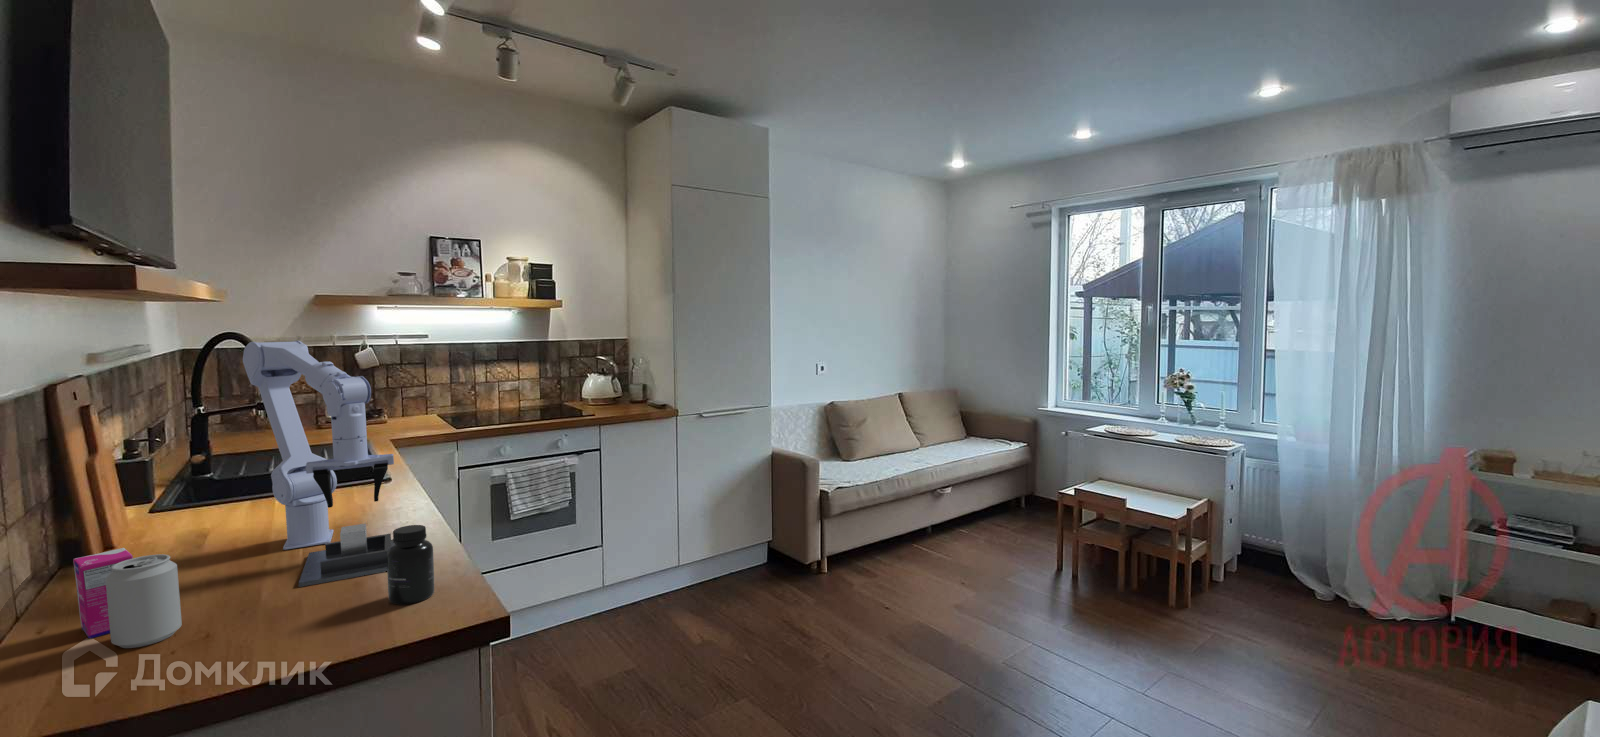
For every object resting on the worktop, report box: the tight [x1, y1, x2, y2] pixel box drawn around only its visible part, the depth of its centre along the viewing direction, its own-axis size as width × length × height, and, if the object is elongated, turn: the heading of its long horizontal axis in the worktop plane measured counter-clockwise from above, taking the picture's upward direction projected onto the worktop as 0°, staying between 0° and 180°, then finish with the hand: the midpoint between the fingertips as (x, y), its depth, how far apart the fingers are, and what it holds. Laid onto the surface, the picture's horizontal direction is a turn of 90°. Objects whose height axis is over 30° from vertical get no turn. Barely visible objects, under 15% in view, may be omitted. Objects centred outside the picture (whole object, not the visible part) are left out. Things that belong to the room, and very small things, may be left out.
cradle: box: [298, 533, 395, 588], centre depth 127 cm, size 18×16×3 cm
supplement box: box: [72, 547, 134, 639], centre depth 100 cm, size 6×6×12 cm
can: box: [105, 553, 183, 649], centre depth 97 cm, size 8×8×12 cm
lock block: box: [339, 523, 368, 557], centre depth 127 cm, size 5×4×6 cm
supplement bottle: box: [386, 524, 435, 606], centre depth 111 cm, size 7×7×12 cm
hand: (353, 503), depth 132 cm, fingers open, 7 cm apart
